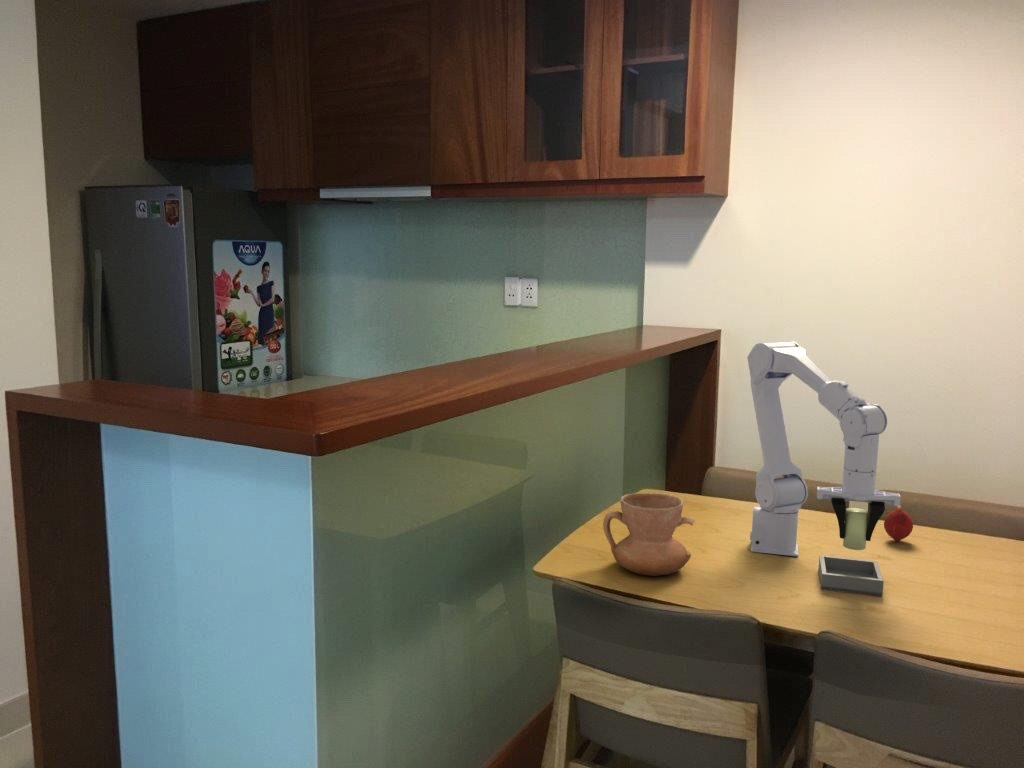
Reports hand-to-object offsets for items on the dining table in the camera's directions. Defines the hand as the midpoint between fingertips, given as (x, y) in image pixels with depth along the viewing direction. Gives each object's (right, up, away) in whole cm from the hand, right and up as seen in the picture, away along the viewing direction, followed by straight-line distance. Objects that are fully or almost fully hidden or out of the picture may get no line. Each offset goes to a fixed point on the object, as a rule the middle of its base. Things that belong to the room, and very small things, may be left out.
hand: (854, 538), depth 160 cm
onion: (+19, -5, +25) cm, 32 cm away
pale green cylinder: (0, -2, 0) cm, 2 cm away
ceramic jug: (-38, -8, +7) cm, 40 cm away
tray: (-1, -9, +1) cm, 9 cm away
